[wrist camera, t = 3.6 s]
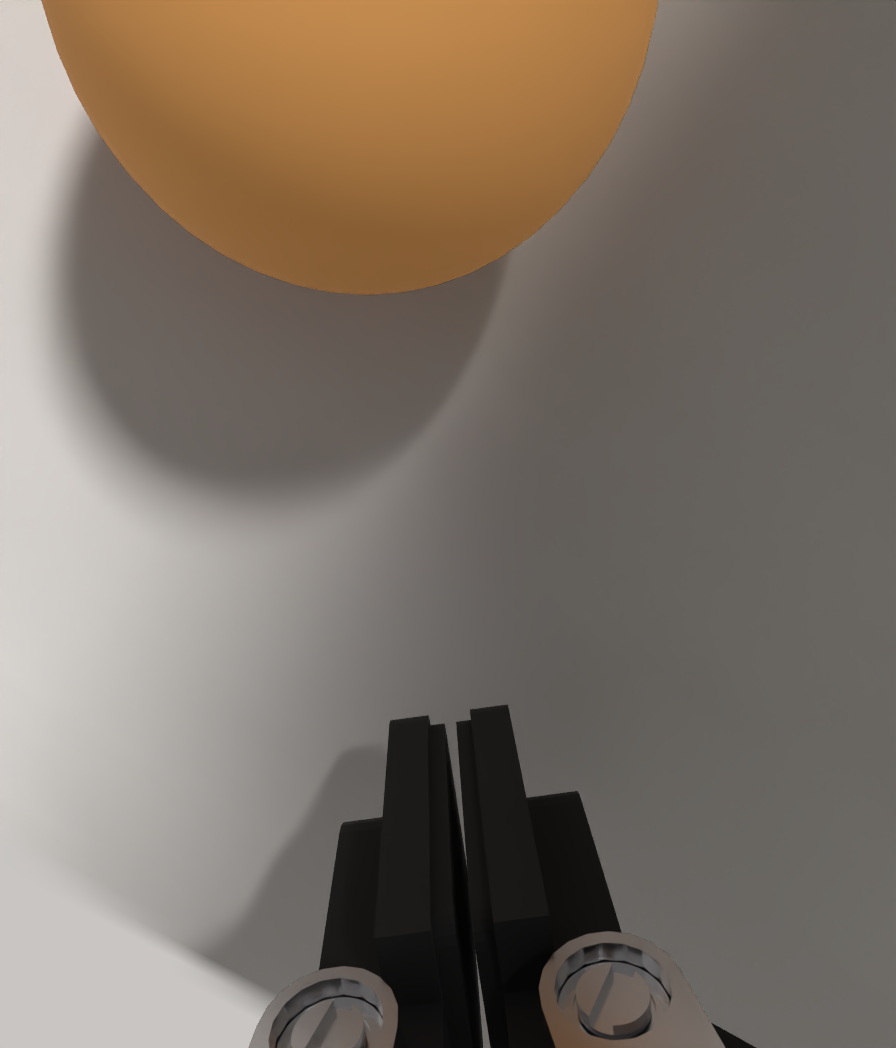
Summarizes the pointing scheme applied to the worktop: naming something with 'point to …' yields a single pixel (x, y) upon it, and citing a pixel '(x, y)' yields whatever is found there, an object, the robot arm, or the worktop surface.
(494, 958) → the robot arm
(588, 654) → the worktop surface
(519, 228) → the ball
